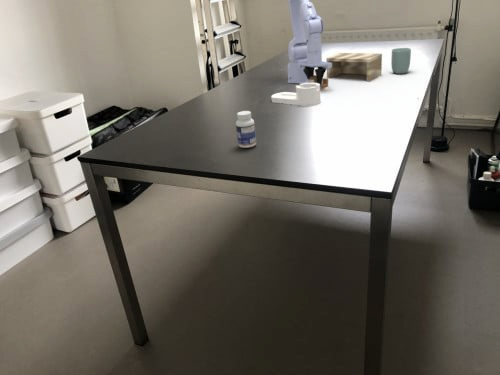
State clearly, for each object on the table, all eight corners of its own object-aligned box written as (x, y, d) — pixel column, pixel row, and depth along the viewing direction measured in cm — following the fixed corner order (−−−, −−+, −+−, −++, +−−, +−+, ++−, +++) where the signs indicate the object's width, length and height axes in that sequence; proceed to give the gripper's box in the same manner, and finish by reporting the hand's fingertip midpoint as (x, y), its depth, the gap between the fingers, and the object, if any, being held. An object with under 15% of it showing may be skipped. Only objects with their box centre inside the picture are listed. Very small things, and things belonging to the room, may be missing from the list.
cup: (410, 74, 188) (412, 50, 184) (391, 75, 190) (392, 51, 186) (408, 70, 195) (409, 47, 191) (390, 71, 197) (391, 48, 193)
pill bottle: (237, 142, 133) (234, 111, 129) (255, 140, 133) (252, 109, 129) (238, 149, 128) (235, 116, 124) (257, 146, 128) (254, 114, 124)
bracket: (324, 101, 165) (324, 83, 162) (312, 107, 159) (312, 89, 156) (280, 97, 177) (279, 80, 174) (267, 103, 171) (266, 85, 168)
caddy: (302, 93, 178) (301, 79, 176) (317, 86, 186) (317, 72, 184) (313, 94, 175) (312, 79, 173) (328, 87, 183) (328, 73, 181)
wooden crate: (326, 79, 196) (326, 58, 192) (340, 73, 204) (339, 52, 200) (369, 81, 184) (369, 59, 180) (381, 75, 192) (381, 53, 188)
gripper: (293, 52, 176) (295, 86, 182) (325, 53, 167) (326, 89, 173) (302, 49, 181) (304, 82, 186) (334, 50, 172) (334, 84, 178)
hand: (315, 85), depth 180 cm, fingers closed on caddy, 3 cm apart
